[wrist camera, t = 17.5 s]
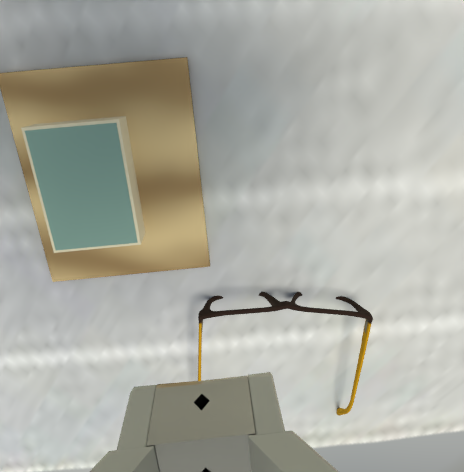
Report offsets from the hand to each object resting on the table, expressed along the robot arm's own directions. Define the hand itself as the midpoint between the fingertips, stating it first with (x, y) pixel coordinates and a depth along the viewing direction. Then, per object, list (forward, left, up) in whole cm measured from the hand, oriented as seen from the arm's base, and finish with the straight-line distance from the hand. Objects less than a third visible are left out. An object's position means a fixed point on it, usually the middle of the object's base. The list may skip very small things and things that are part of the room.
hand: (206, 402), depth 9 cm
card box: (0, -5, -22) cm, 23 cm away
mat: (0, -7, -24) cm, 25 cm away
